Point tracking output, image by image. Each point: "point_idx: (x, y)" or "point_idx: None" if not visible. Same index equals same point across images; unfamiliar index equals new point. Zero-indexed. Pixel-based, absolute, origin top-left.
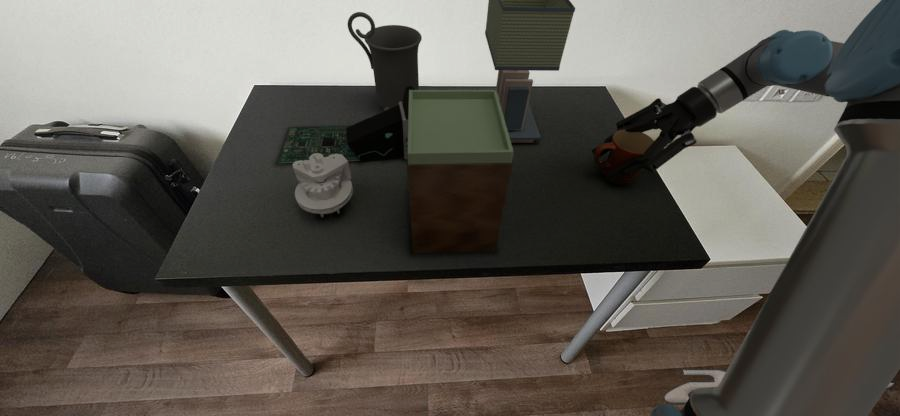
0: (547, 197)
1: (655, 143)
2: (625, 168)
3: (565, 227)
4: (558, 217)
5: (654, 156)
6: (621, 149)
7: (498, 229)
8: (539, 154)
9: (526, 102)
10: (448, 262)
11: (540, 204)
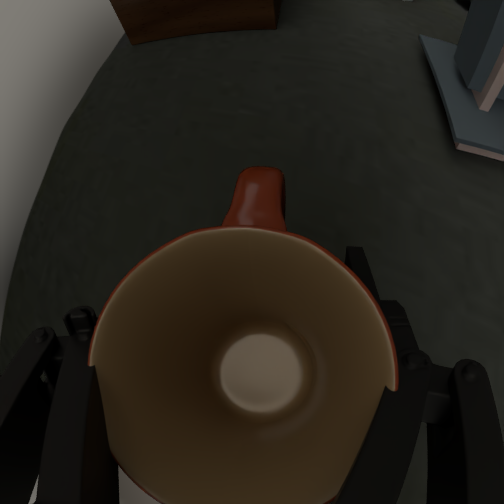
0: (216, 116)
1: (61, 439)
2: None
3: (120, 136)
4: (149, 127)
5: (27, 374)
6: (169, 245)
7: (112, 5)
8: (404, 144)
9: (496, 16)
10: None
11: (198, 100)
